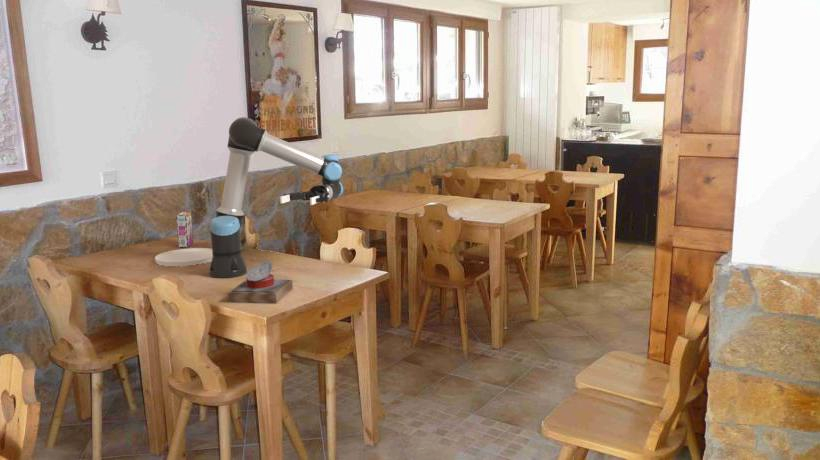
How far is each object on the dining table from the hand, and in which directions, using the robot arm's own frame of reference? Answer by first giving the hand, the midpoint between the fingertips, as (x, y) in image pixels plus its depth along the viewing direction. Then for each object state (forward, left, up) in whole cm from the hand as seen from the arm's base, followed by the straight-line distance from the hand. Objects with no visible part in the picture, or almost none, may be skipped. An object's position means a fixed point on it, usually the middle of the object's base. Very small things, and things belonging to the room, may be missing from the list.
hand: (295, 200), depth 273 cm
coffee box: (-47, +47, -31) cm, 73 cm away
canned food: (-6, -28, -27) cm, 39 cm away
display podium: (-6, -28, -31) cm, 42 cm away
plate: (-62, +26, -32) cm, 74 cm away
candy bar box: (-77, +54, -31) cm, 99 cm away
